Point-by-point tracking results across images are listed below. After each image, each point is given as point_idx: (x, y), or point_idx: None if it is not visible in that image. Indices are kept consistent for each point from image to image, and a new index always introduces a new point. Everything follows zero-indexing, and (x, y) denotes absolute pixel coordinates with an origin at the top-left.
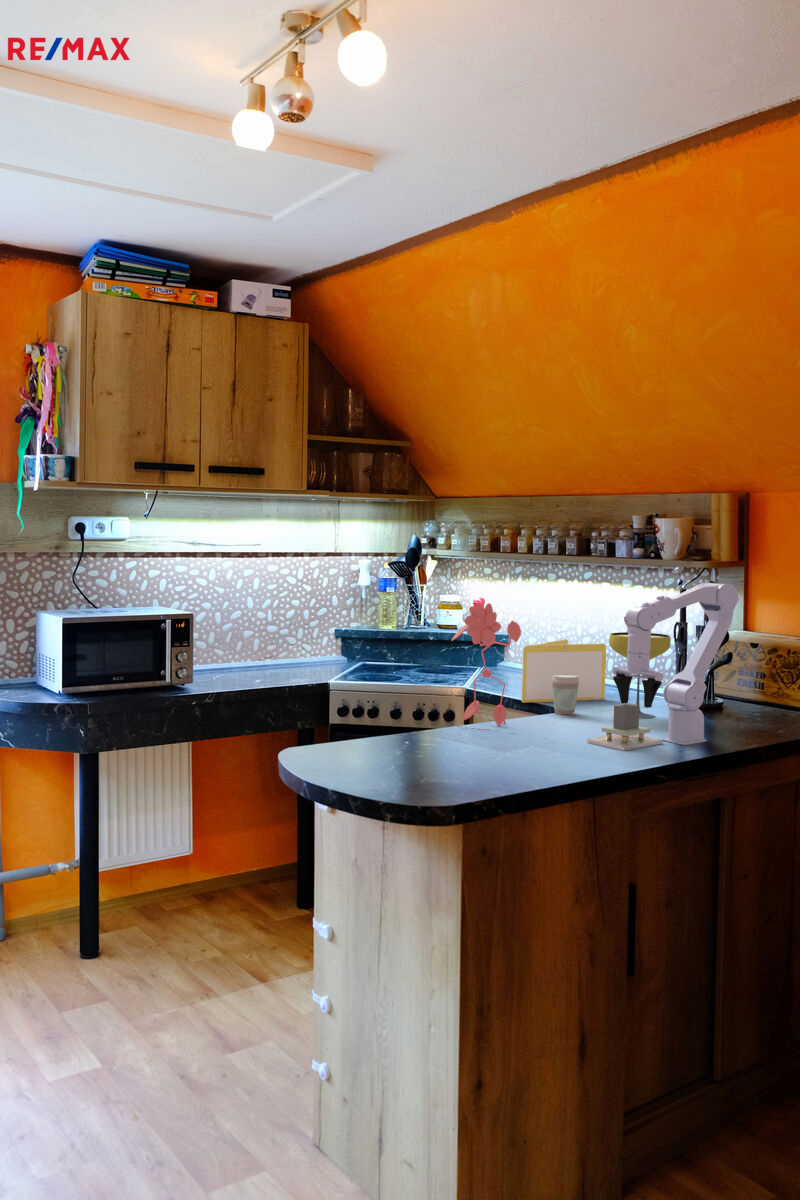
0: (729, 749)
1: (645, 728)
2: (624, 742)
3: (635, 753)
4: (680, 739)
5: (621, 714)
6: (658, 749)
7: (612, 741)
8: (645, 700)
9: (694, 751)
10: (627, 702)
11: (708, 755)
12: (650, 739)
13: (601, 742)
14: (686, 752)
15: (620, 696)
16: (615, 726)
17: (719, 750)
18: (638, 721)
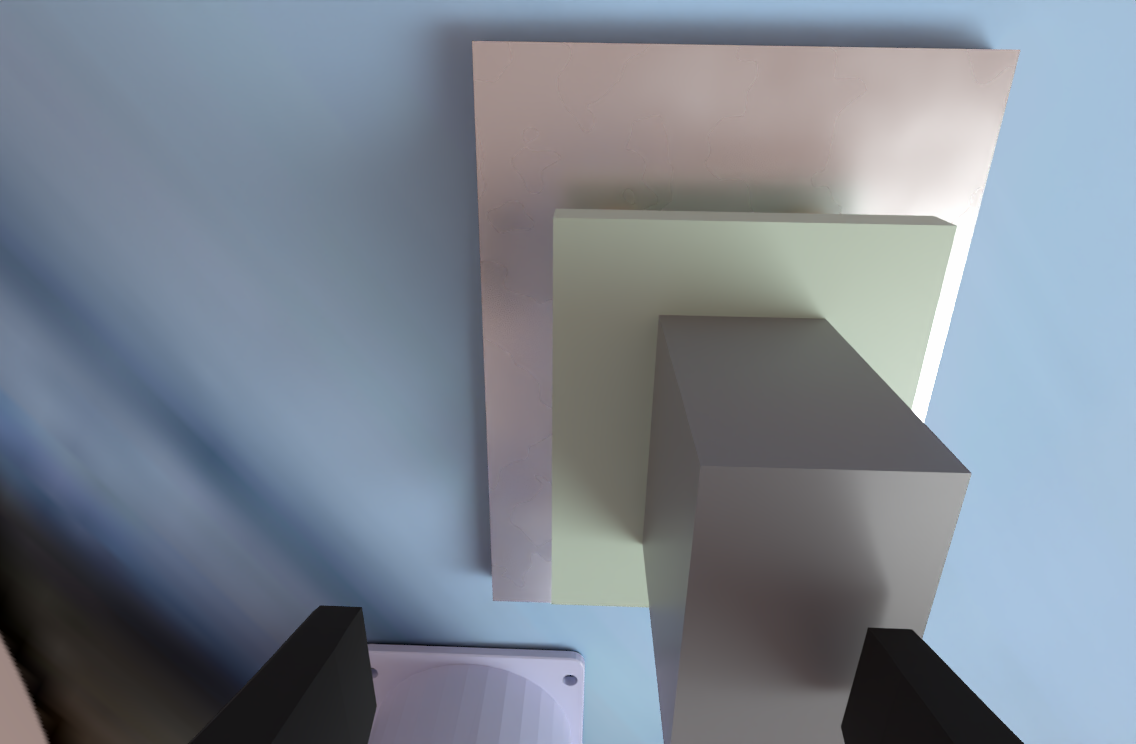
0: (126, 733)
1: (575, 566)
2: None
3: (320, 34)
4: (415, 687)
5: (744, 399)
6: (352, 378)
7: (733, 187)
8: (264, 700)
9: (164, 529)
10: (846, 733)
11: (2, 492)
12: None
13: (799, 48)
14: (157, 456)
15: (982, 725)
16: (800, 326)
17: (124, 671)
18: (647, 587)
